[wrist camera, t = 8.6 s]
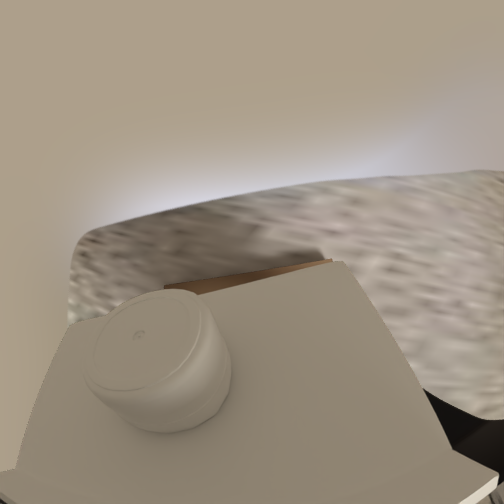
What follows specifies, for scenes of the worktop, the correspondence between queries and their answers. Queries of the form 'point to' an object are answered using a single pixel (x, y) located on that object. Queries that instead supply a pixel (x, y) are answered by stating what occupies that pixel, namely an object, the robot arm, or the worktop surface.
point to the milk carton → (239, 405)
